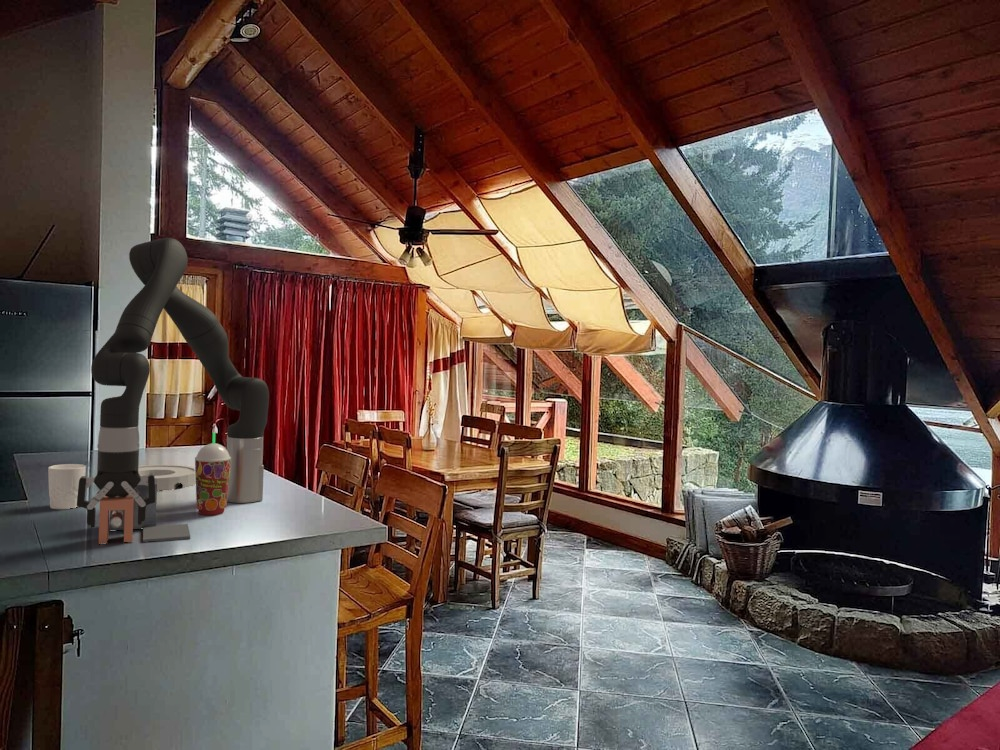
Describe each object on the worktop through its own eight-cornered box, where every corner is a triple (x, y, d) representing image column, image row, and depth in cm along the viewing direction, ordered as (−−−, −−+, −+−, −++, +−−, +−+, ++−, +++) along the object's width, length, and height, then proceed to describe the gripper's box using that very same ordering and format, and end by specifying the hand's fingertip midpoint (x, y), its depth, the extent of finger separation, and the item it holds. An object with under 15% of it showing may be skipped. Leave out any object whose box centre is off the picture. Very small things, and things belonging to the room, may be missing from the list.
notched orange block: (132, 535, 147) (133, 493, 147) (132, 542, 142) (133, 499, 142) (100, 537, 145) (101, 495, 144) (98, 545, 139) (99, 501, 139)
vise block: (110, 525, 155) (112, 467, 154) (155, 522, 159) (157, 466, 158) (106, 545, 139) (108, 482, 139) (156, 542, 143) (158, 480, 143)
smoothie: (194, 517, 165) (196, 434, 164) (191, 510, 172) (194, 430, 172) (231, 515, 169) (234, 434, 168) (227, 508, 176) (230, 430, 175)
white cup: (91, 506, 172) (93, 466, 171) (60, 511, 165) (61, 470, 164) (71, 501, 175) (72, 462, 175) (39, 507, 168) (41, 466, 168)
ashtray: (98, 492, 188) (98, 478, 188) (123, 477, 211) (124, 464, 210) (189, 492, 194) (189, 478, 193) (204, 477, 216) (205, 465, 216)
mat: (187, 526, 156) (187, 523, 156) (190, 538, 147) (190, 536, 147) (143, 529, 152) (143, 526, 152) (142, 542, 143) (142, 539, 143)
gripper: (156, 444, 149) (154, 518, 150) (80, 446, 143) (78, 523, 143) (157, 449, 143) (154, 527, 143) (77, 451, 136) (74, 532, 137)
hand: (116, 525), depth 143 cm, fingers open, 8 cm apart
